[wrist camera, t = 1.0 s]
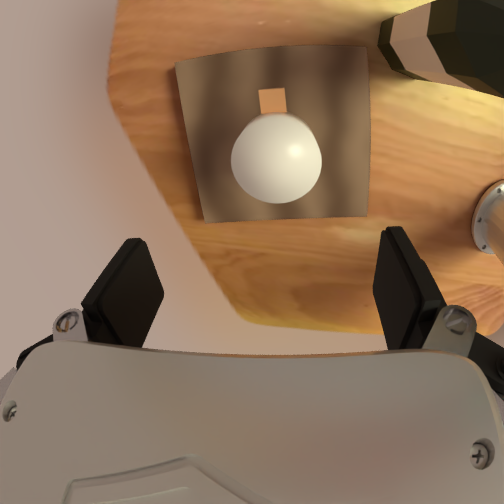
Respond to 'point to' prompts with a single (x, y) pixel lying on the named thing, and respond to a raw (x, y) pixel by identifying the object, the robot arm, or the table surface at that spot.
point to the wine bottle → (449, 44)
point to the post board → (297, 102)
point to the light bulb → (276, 153)
